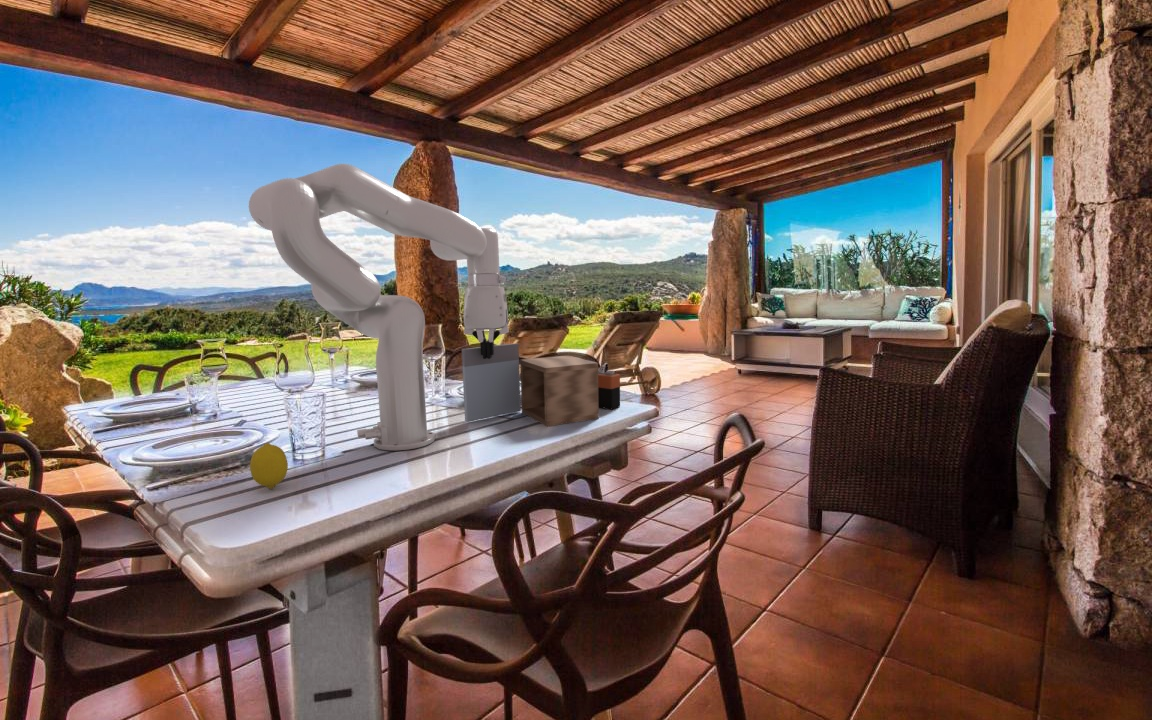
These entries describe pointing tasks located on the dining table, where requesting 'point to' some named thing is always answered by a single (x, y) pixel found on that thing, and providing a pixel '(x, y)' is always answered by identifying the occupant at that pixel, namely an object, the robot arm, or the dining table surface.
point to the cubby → (559, 389)
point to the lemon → (268, 465)
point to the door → (491, 382)
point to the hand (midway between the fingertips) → (487, 357)
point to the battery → (608, 390)
